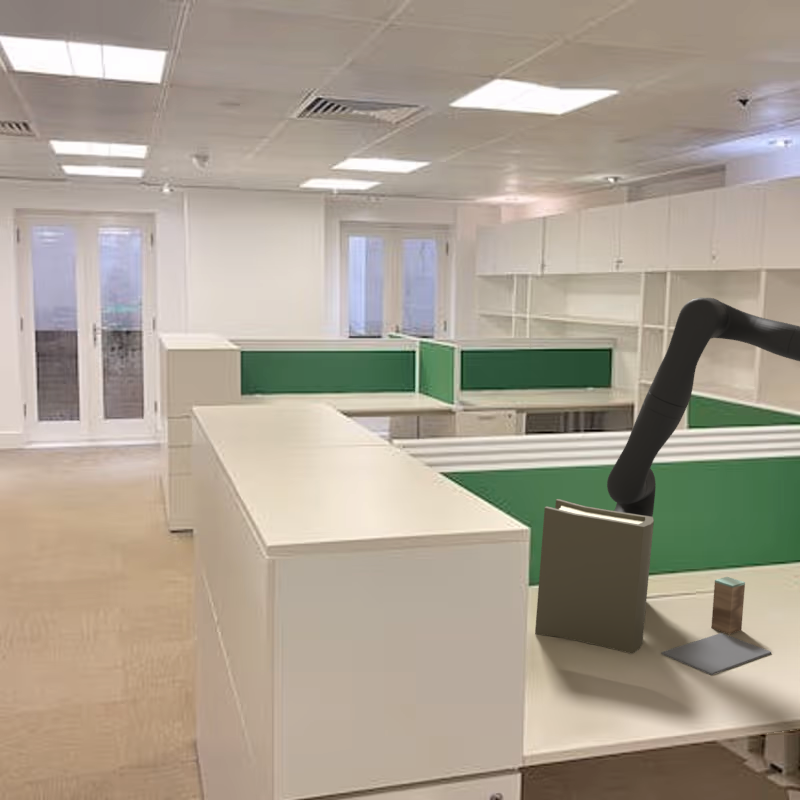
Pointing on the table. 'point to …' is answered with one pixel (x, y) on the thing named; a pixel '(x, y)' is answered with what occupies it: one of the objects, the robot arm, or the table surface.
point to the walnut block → (728, 605)
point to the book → (594, 575)
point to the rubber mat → (716, 653)
